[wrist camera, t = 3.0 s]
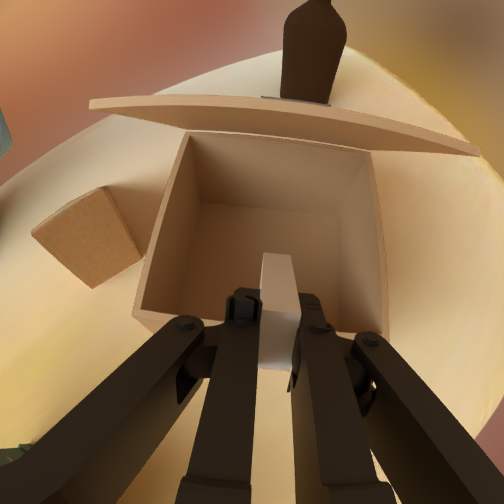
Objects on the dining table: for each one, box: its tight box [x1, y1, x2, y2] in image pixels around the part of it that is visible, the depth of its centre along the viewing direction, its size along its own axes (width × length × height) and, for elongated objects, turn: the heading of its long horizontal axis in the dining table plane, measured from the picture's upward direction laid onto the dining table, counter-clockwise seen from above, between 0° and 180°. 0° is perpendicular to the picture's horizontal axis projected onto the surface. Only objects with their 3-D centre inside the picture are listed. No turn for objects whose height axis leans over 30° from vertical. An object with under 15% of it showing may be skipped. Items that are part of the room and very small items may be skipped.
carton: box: [132, 131, 389, 342], centre depth 32 cm, size 20×20×13 cm
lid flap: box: [89, 95, 481, 157], centre depth 21 cm, size 20×20×1 cm
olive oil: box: [280, 0, 347, 105], centre depth 44 cm, size 11×11×25 cm
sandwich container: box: [31, 186, 142, 289], centre depth 34 cm, size 9×15×15 cm, turn 34°
